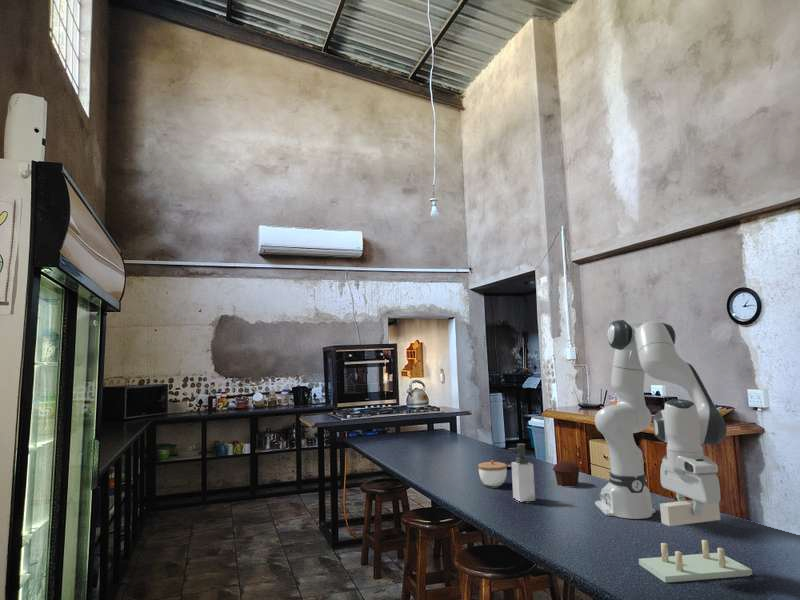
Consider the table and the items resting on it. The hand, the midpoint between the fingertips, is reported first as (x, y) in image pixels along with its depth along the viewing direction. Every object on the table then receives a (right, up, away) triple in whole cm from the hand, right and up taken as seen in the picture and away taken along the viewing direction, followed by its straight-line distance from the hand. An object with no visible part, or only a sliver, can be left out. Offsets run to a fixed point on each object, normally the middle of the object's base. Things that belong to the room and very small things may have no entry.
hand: (690, 513), depth 143 cm
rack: (0, -15, -1) cm, 15 cm away
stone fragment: (-24, -30, +129) cm, 134 cm away
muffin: (-4, -25, +92) cm, 96 cm away
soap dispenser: (-30, -23, +69) cm, 79 cm away
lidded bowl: (-37, -26, +95) cm, 105 cm away
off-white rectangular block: (0, -2, 0) cm, 2 cm away
